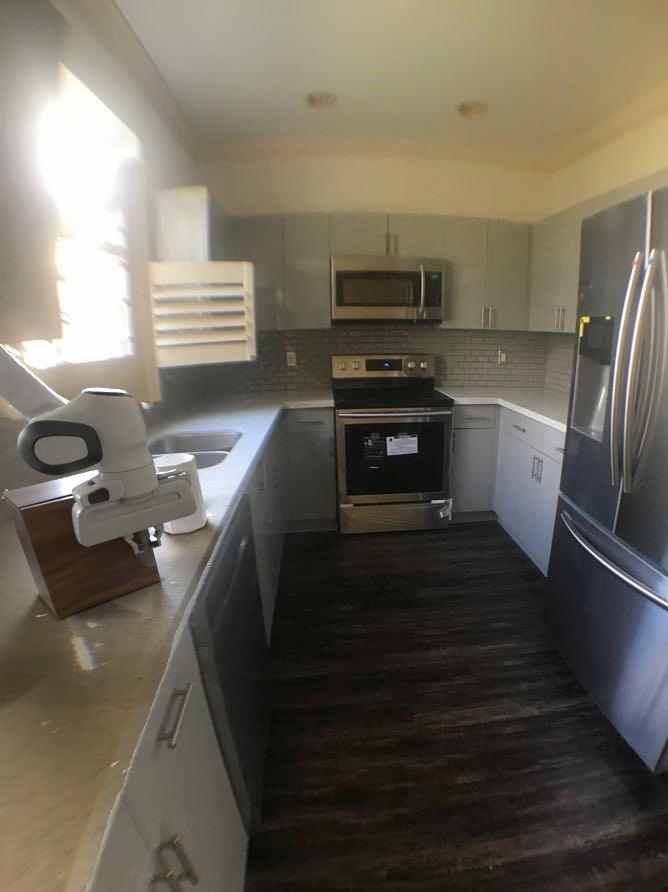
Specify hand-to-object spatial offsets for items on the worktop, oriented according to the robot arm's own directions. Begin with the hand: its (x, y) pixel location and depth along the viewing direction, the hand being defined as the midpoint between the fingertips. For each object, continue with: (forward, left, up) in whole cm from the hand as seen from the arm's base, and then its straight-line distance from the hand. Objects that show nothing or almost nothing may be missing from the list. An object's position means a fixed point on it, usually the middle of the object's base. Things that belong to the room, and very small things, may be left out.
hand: (147, 549), depth 86 cm
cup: (+20, +30, -11) cm, 38 cm away
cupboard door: (-6, +5, -11) cm, 13 cm away
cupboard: (-6, +16, -11) cm, 20 cm away
